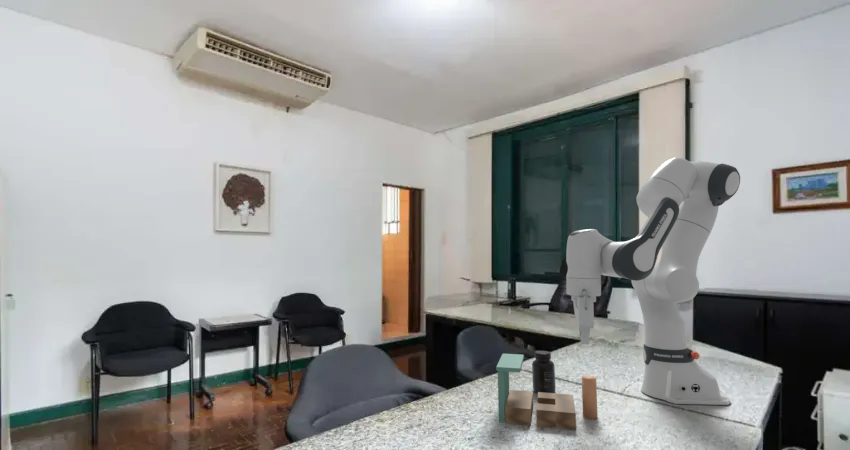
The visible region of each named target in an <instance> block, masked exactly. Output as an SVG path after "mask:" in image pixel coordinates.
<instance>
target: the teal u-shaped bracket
mask: <svg viewBox="0 0 850 450" xmlns="http://www.w3.org/2000/svg"><path fill="white" fill-rule="evenodd" d="M524 359H525V355H524V354H519V353H517V354H516V353H515V354H514V353H502V354H501V356H500V358H499V361H498V362H497V365H496V367H495V368H496V369H495V371H496V372H497V401H498V404H497V405H498V423H506V418H505V406H506V403H507V399H508V396H509V393H510V373H521V372H522V371H521V370H522V367H523V363H524Z"/></svg>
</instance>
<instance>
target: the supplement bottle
mask: <svg viewBox="0 0 850 450" xmlns="http://www.w3.org/2000/svg"><path fill="white" fill-rule="evenodd" d="M551 354H552V353H551V351H547V350H536V351H534V359H535V360H533V361H532V363H531V370H532V372H531V373H532V374H531V375H532V390H533V392H535V393H536V394H538V392H545V393H556V373H555V372H556V371H555V370H556V369H555V362H553V361H552V360H551V359H552V355H551Z"/></svg>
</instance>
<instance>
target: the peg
mask: <svg viewBox="0 0 850 450" xmlns="http://www.w3.org/2000/svg"><path fill="white" fill-rule="evenodd" d="M597 388H598V387H597V378H596V376H592V375H582V376H581V394H582V395H581V399H582V402H581V403H582V417H583V418H585V419H588V420H597V419H598V394H597V390H598V389H597Z"/></svg>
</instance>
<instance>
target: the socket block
mask: <svg viewBox="0 0 850 450" xmlns="http://www.w3.org/2000/svg"><path fill="white" fill-rule="evenodd" d="M533 411H534V391H530V390H518V389H517V390H516V389H509V396H508V399H507V403H506V406H505V423H506V424H510V425H511V424H513V425H521V426H523V425H525V426H532V421H533ZM535 411H536V412H535V413H536V414H535V415H536V427H541V426H542V427H544V428H553V429H563V430H572V431H577V416H576V415H577V414H576V405H575V399H574V395H573V394H569V393H568V394H567V393H566V394H565V393H556V392H554V393H545V392H538V393H537V403H536V409H535Z"/></svg>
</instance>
